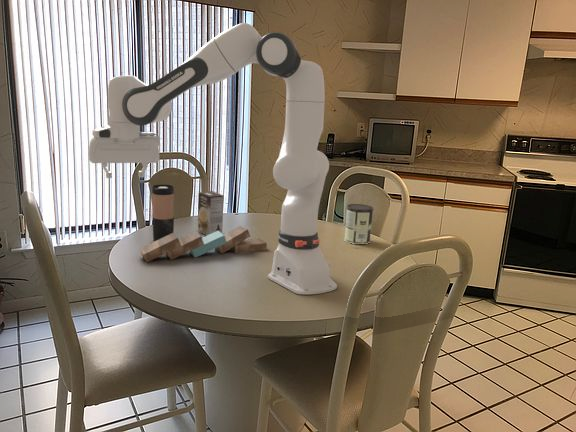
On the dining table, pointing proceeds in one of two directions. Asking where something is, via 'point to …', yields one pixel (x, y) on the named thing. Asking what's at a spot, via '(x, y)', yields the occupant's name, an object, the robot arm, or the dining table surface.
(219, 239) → the domino
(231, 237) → the domino
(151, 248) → the domino far
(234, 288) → the dining table surface
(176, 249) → the domino
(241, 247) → the domino
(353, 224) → the coffee can
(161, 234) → the travel mug
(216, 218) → the coffee box
